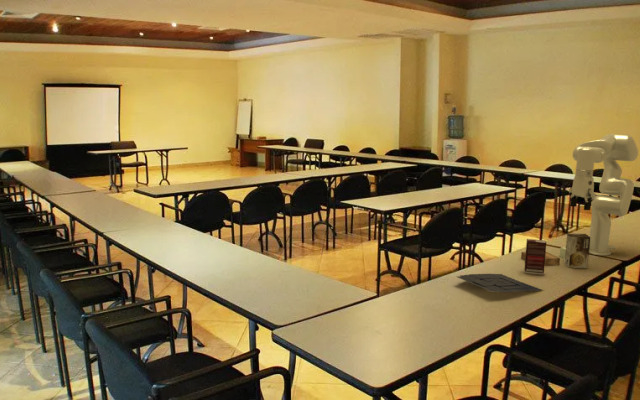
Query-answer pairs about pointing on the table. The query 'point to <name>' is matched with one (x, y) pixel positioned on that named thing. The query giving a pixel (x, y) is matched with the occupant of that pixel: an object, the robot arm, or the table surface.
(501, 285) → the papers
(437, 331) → the table surface
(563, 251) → the sage cube
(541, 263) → the supplement box
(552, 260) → the walnut block
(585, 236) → the coffee box
